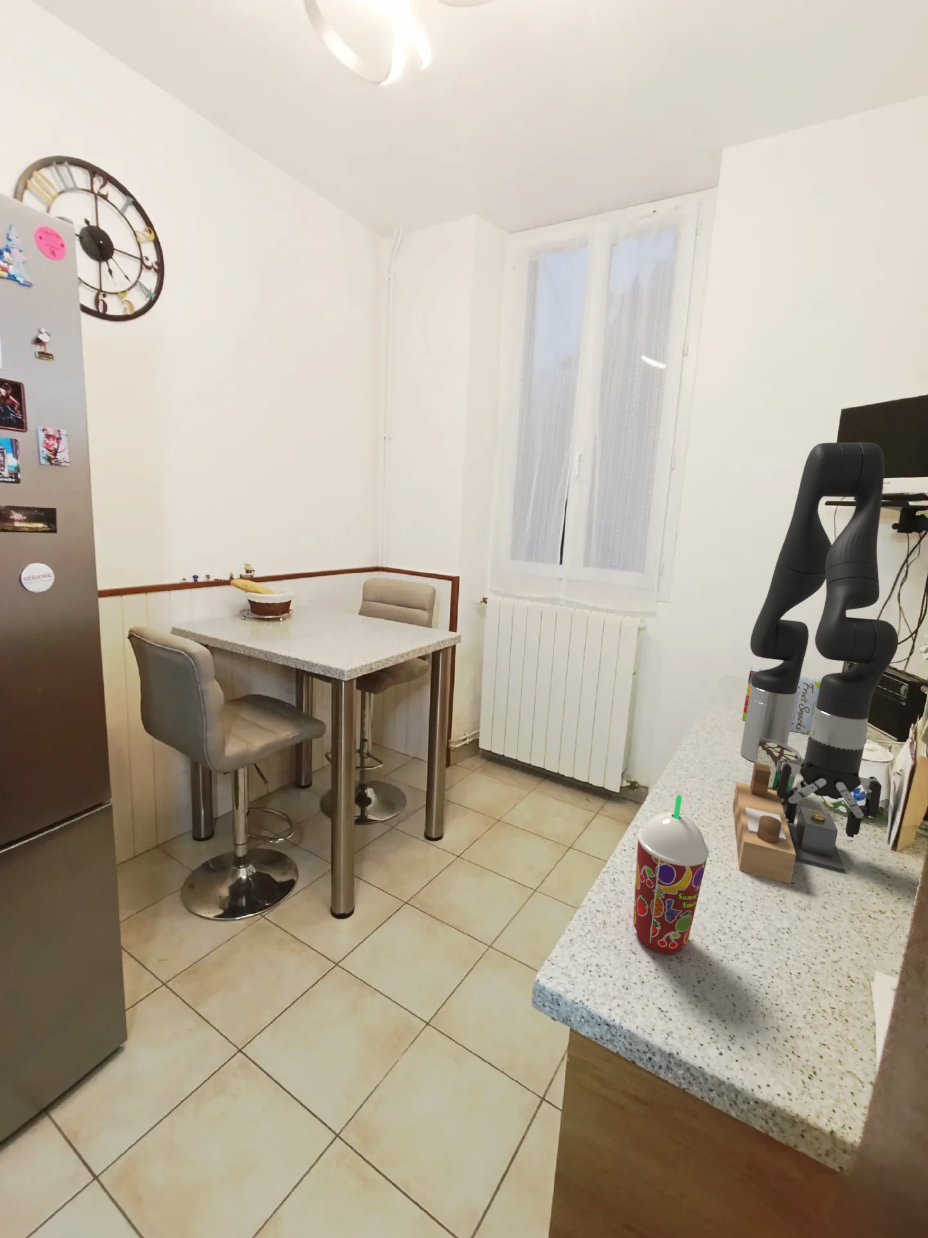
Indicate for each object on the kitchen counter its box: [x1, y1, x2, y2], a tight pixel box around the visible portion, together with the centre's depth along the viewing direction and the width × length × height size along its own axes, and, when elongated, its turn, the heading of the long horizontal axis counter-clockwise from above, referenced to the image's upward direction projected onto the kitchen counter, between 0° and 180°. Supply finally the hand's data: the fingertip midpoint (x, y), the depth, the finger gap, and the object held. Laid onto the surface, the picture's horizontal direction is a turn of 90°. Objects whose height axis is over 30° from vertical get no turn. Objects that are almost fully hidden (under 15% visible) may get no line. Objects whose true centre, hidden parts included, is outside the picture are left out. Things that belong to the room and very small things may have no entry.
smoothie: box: [632, 794, 710, 955], centre depth 69 cm, size 8×8×20 cm
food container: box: [755, 738, 803, 807], centre depth 109 cm, size 12×6×10 cm, turn 168°
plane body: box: [732, 762, 796, 885], centre depth 93 cm, size 22×7×10 cm, turn 156°
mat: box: [787, 823, 846, 874], centre depth 92 cm, size 11×7×1 cm, turn 156°
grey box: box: [795, 806, 838, 858], centre depth 92 cm, size 6×4×6 cm
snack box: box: [741, 666, 823, 736], centre depth 149 cm, size 21×6×15 cm, turn 58°
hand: (819, 828), depth 92 cm, fingers open, 8 cm apart
